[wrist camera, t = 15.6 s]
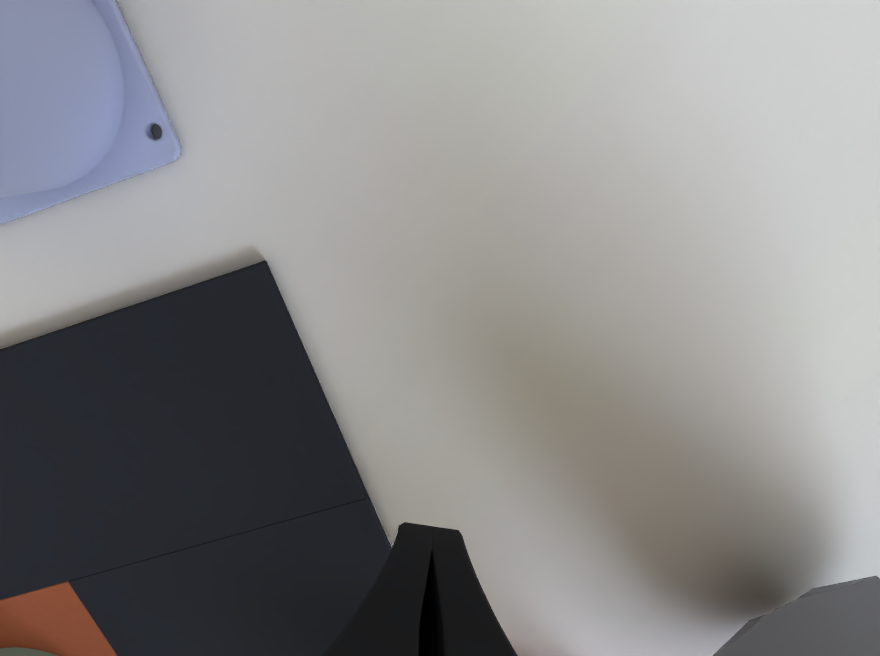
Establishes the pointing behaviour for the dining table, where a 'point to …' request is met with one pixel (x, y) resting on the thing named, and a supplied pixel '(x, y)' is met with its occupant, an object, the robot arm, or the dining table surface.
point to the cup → (23, 652)
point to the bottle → (816, 624)
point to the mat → (179, 484)
